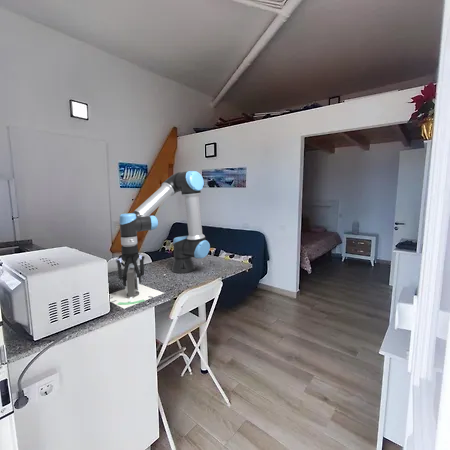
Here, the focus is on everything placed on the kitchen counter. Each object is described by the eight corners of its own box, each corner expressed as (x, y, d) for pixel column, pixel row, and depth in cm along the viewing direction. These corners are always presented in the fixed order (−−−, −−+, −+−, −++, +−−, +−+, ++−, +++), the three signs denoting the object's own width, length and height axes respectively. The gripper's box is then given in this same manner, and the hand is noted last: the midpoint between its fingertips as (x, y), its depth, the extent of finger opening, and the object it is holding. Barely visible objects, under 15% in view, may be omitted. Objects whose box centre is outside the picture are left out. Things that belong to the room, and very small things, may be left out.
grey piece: (128, 291, 131) (126, 268, 130) (140, 290, 132) (138, 267, 131) (122, 302, 118) (120, 276, 116) (136, 301, 119) (134, 275, 117)
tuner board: (140, 286, 143) (140, 283, 143) (165, 295, 129) (164, 292, 129) (100, 299, 126) (100, 296, 126) (124, 311, 112) (124, 308, 112)
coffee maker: (139, 272, 170) (138, 245, 167) (145, 274, 163) (143, 247, 161) (116, 277, 160) (114, 249, 158) (121, 280, 153) (119, 251, 151)
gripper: (112, 248, 116) (115, 297, 119) (149, 243, 126) (152, 288, 129) (108, 246, 122) (112, 292, 125) (144, 241, 132) (147, 284, 135)
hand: (132, 290), depth 127 cm, fingers closed on grey piece, 4 cm apart
